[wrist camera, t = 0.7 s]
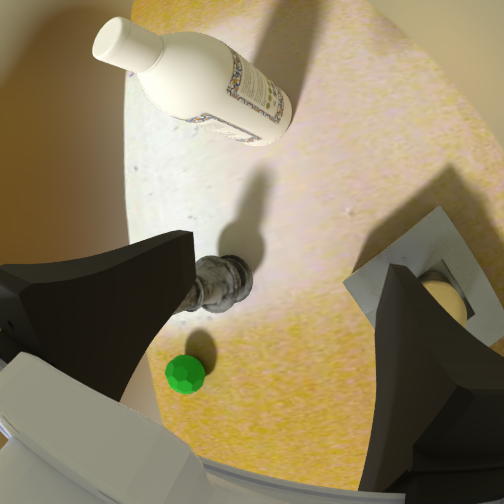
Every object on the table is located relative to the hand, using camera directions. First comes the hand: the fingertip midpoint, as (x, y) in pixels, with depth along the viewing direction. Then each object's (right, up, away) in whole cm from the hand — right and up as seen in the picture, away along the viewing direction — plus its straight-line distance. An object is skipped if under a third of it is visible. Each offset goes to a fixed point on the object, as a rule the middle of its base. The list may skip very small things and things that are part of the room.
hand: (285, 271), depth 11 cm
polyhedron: (-8, -14, +27) cm, 32 cm away
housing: (+15, -3, +14) cm, 20 cm away
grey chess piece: (-3, -2, +23) cm, 24 cm away
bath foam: (0, +15, +20) cm, 25 cm away
